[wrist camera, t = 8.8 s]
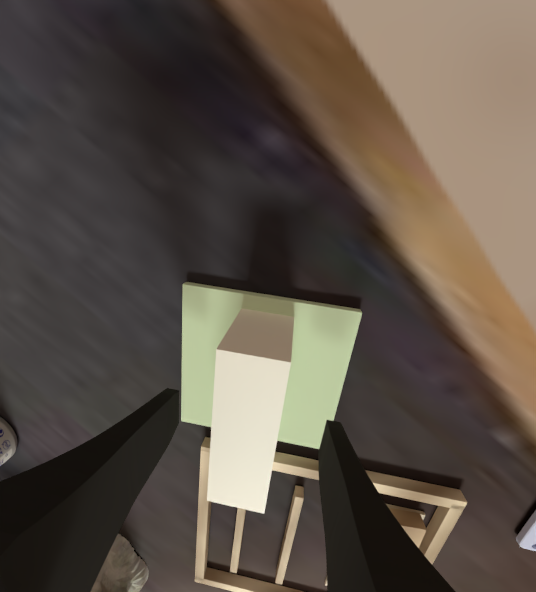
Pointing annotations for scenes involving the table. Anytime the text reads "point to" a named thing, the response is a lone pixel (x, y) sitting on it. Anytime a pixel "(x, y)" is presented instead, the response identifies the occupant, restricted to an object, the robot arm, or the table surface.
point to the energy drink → (7, 441)
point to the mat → (304, 362)
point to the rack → (248, 588)
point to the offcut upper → (411, 524)
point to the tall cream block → (248, 407)
